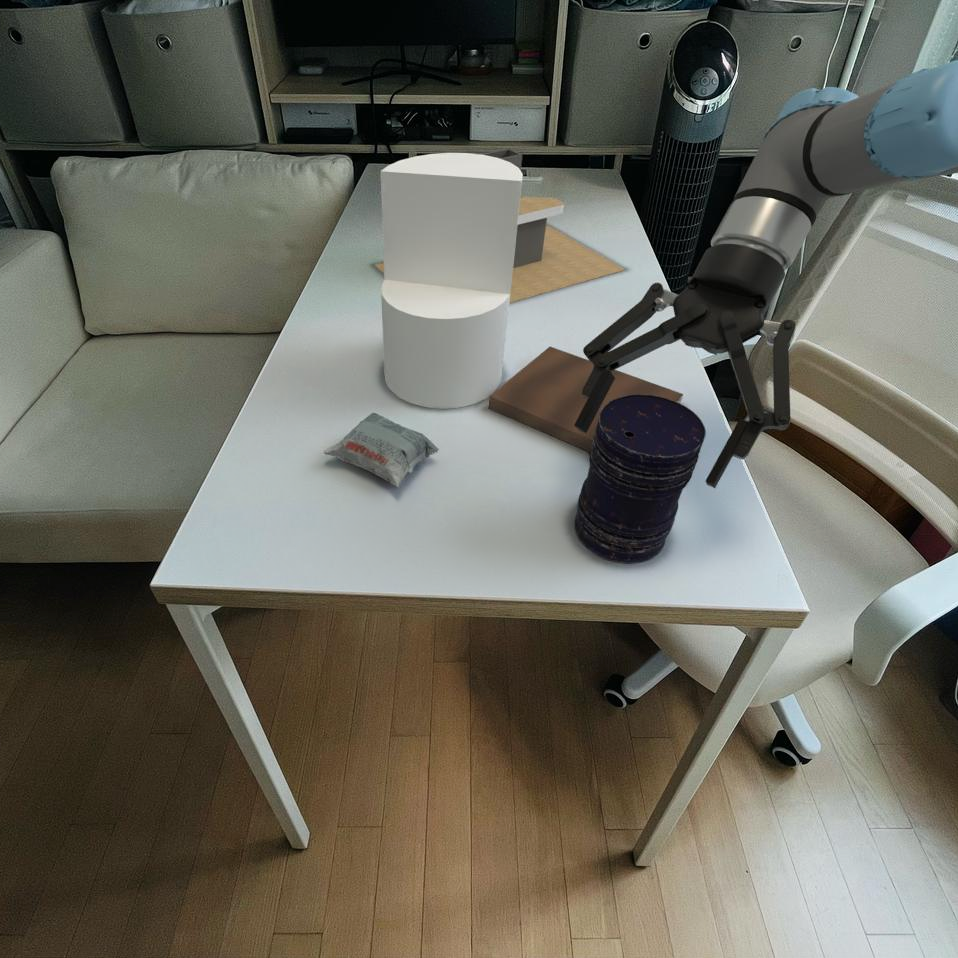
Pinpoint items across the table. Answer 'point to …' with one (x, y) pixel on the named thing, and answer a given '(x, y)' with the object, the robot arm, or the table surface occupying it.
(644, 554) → the navy ribbed canister
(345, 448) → the packaged food
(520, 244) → the architectural model
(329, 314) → the table surface
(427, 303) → the cylinder
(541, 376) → the board
